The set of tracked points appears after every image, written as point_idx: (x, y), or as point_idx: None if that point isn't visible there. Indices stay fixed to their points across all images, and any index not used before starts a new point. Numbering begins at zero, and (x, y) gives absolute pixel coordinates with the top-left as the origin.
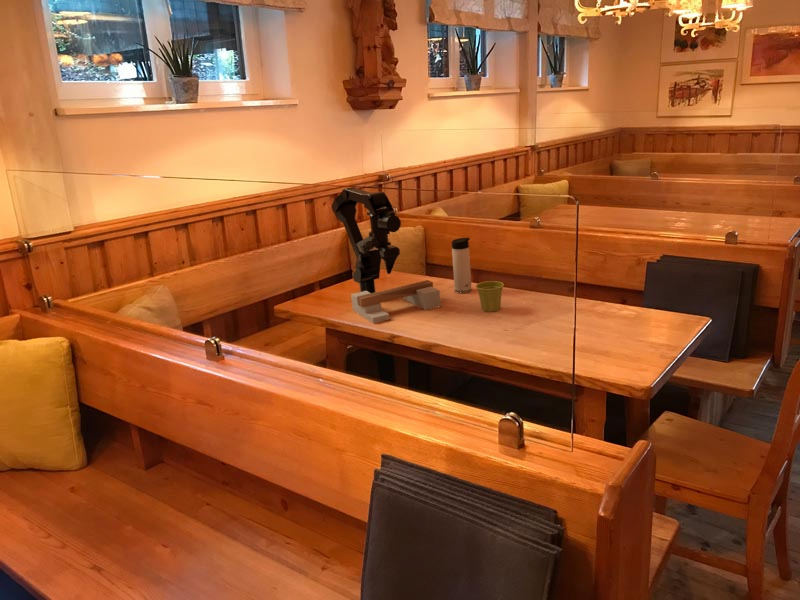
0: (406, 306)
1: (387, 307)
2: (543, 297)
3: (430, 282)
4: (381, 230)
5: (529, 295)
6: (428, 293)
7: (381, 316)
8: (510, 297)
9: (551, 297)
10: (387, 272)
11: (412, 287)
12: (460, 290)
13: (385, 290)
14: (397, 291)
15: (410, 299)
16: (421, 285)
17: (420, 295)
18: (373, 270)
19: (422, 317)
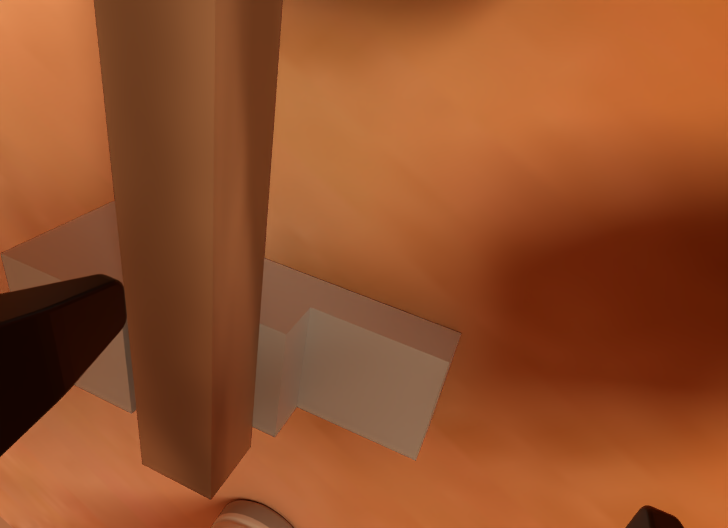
0: (269, 195)
1: (371, 79)
2: (21, 507)
3: (144, 454)
4: None
5: (58, 517)
6: (11, 281)
7: None
8: (72, 489)
9: (10, 510)
10: (69, 282)
11: (130, 313)
12: (228, 513)
13: (193, 63)
14: (119, 151)
15: (307, 292)
16: (139, 385)
17: (88, 264)
18: None
19: (13, 83)
